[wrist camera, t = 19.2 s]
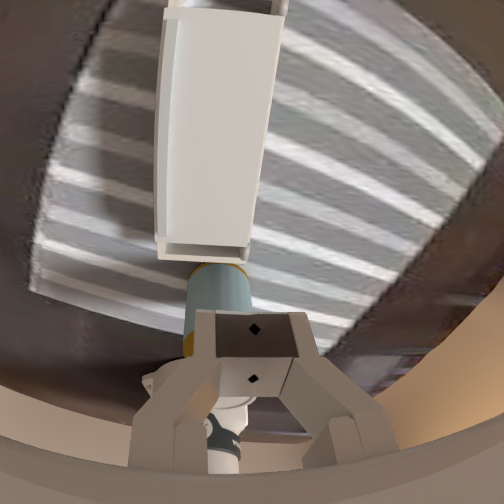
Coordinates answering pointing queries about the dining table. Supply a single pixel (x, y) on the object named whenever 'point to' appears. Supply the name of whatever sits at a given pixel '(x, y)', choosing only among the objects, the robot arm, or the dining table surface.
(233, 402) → the bottle
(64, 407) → the dining table surface
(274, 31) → the cover
